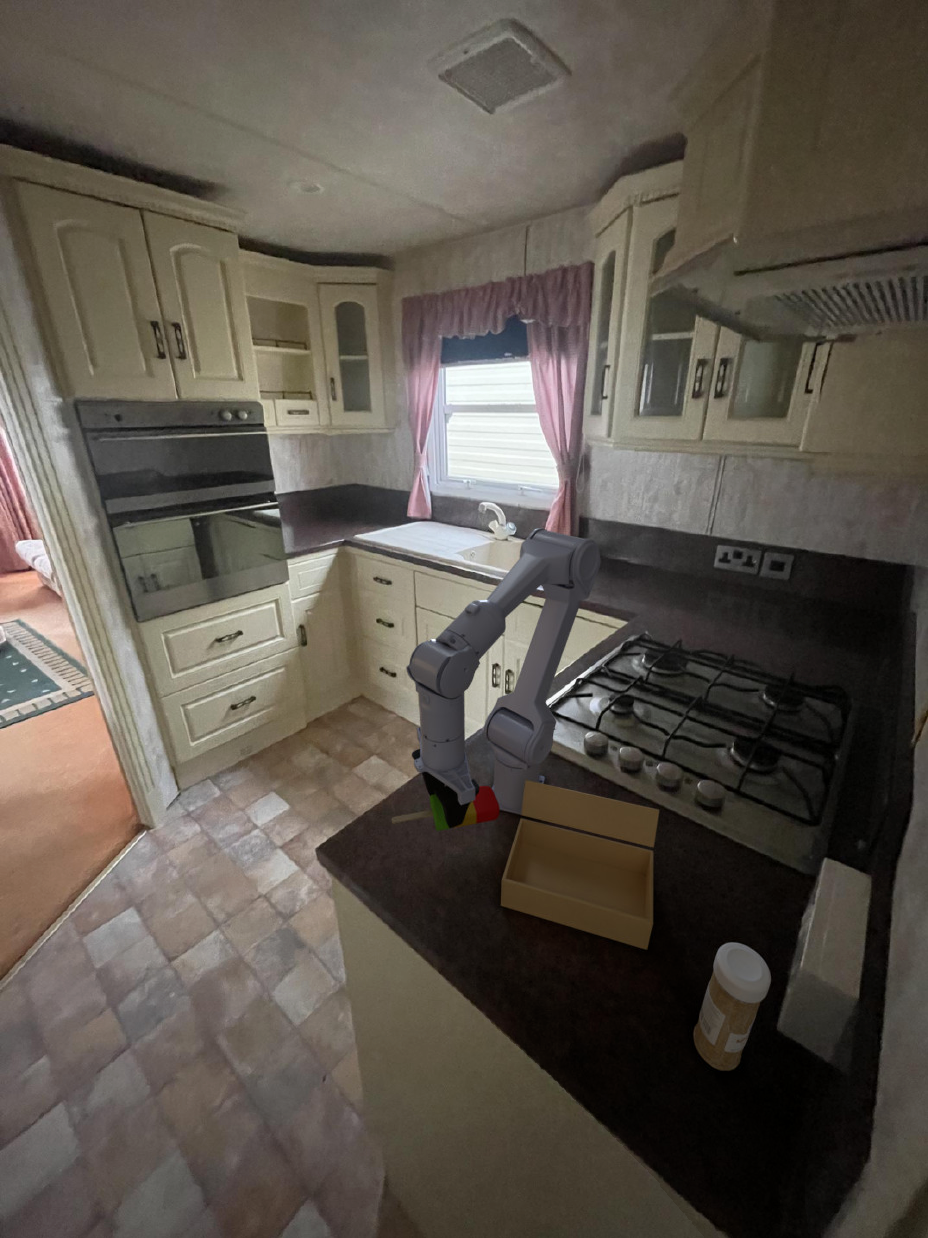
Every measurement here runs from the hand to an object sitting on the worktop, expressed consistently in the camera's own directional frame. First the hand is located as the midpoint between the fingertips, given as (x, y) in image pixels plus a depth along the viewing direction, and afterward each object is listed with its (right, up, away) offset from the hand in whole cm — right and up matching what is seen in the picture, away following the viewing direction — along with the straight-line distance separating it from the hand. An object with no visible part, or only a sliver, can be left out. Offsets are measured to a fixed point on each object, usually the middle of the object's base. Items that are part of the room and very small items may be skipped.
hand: (445, 807), depth 72 cm
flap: (+20, 0, -1) cm, 20 cm away
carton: (+18, -10, -3) cm, 21 cm away
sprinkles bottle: (+29, -18, -19) cm, 39 cm away
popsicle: (0, -1, +1) cm, 2 cm away
